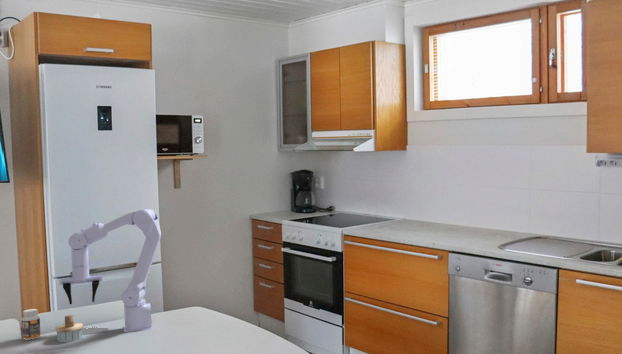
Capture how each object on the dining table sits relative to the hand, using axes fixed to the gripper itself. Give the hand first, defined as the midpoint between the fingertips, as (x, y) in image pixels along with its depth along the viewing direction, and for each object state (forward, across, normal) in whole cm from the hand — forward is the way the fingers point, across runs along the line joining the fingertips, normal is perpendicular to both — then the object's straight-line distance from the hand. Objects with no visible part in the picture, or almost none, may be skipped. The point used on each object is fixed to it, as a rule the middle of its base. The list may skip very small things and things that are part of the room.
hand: (82, 302), depth 219 cm
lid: (+7, +4, +10) cm, 13 cm away
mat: (+10, -4, +2) cm, 11 cm away
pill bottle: (+11, +17, +2) cm, 20 cm away
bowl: (+10, +4, +10) cm, 15 cm away
